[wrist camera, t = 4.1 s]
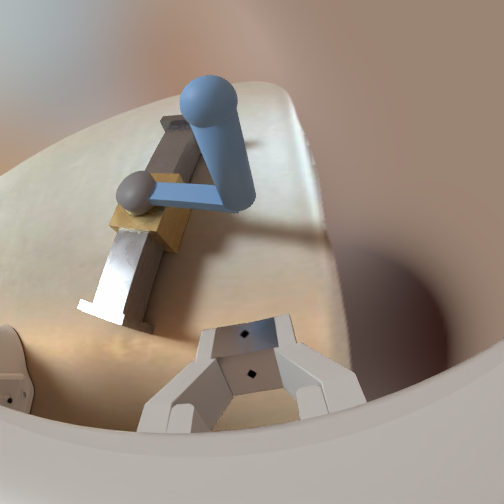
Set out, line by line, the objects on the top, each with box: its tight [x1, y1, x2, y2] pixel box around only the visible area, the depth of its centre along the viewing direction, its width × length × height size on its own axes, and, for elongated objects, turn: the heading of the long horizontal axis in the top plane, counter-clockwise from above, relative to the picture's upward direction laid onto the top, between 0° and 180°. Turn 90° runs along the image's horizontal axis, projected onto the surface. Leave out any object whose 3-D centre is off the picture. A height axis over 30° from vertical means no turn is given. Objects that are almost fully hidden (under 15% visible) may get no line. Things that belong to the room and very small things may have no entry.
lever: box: [116, 75, 256, 216], centre depth 20 cm, size 15×4×13 cm, turn 78°
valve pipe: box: [78, 115, 201, 334], centre depth 30 cm, size 26×6×6 cm, turn 168°
